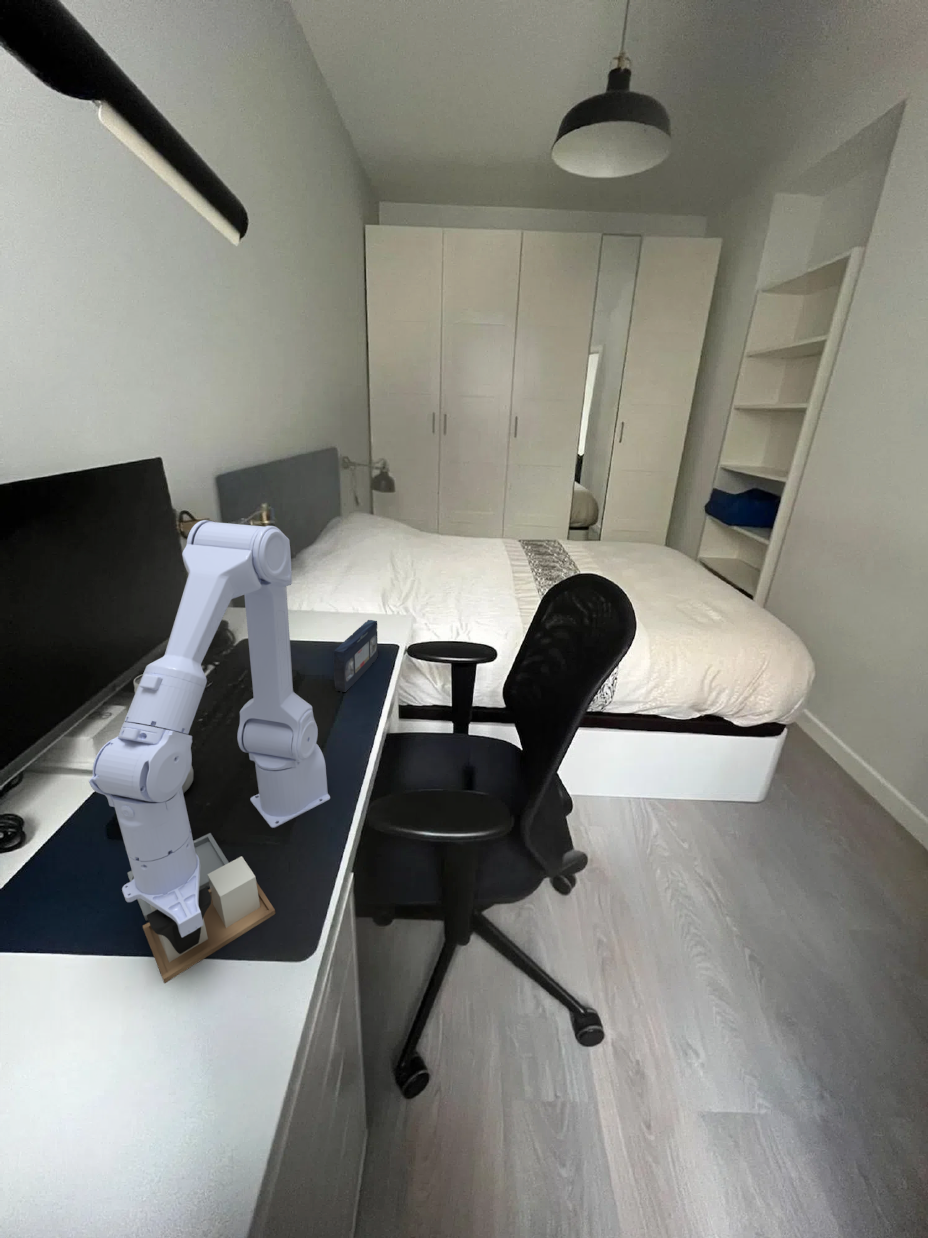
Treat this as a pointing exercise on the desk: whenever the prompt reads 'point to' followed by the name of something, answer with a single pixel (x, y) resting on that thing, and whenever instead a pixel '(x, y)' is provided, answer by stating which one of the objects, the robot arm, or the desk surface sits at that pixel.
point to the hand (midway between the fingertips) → (181, 931)
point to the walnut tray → (215, 934)
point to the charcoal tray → (209, 862)
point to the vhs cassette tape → (355, 655)
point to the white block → (170, 950)
